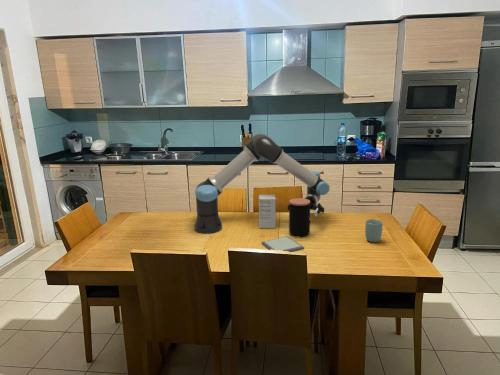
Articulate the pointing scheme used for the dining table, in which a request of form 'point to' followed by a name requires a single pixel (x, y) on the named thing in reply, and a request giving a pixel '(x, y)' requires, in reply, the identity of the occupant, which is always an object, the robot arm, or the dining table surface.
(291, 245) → the mat
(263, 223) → the supplement box
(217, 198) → the robot arm
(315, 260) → the dining table surface
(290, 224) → the coffee jar
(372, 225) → the cup
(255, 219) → the dining table surface
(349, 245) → the dining table surface
